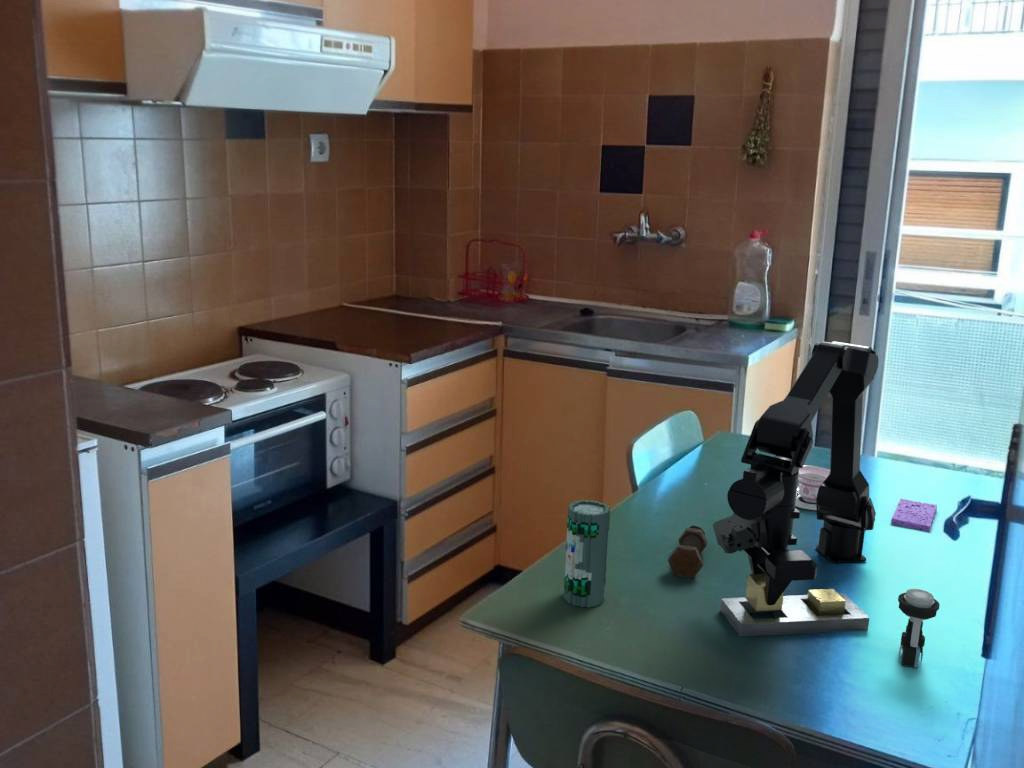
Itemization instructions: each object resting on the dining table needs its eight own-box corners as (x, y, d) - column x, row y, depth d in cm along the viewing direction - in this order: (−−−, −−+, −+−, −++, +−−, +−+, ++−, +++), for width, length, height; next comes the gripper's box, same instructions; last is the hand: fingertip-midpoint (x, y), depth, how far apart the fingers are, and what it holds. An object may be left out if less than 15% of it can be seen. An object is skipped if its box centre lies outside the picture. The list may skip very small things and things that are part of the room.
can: (557, 592, 155) (562, 502, 151) (592, 586, 157) (597, 498, 154) (575, 609, 150) (580, 517, 146) (610, 603, 152) (616, 512, 148)
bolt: (698, 553, 176) (687, 585, 162) (675, 536, 177) (662, 567, 163) (717, 529, 175) (708, 559, 161) (693, 512, 175) (682, 541, 161)
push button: (888, 642, 143) (897, 579, 141) (927, 649, 142) (937, 585, 139) (891, 665, 137) (900, 599, 135) (932, 672, 136) (942, 606, 133)
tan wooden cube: (830, 612, 152) (833, 588, 151) (842, 625, 148) (845, 600, 147) (805, 613, 151) (808, 589, 150) (817, 626, 148) (820, 601, 147)
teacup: (849, 499, 201) (852, 470, 199) (831, 516, 191) (835, 486, 190) (791, 486, 207) (794, 458, 206) (771, 502, 198) (774, 473, 196)
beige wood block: (770, 597, 150) (773, 573, 149) (781, 609, 146) (784, 585, 145) (745, 598, 149) (748, 574, 148) (756, 611, 145) (758, 586, 144)
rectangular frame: (842, 605, 154) (843, 593, 154) (867, 630, 147) (869, 617, 146) (720, 610, 151) (721, 598, 151) (740, 636, 144) (741, 623, 143)
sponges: (936, 513, 196) (937, 504, 196) (929, 534, 185) (930, 525, 185) (898, 506, 199) (900, 497, 199) (890, 526, 188) (891, 517, 188)
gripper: (700, 478, 151) (691, 572, 155) (747, 526, 133) (736, 631, 137) (768, 477, 153) (758, 570, 157) (824, 524, 135) (812, 627, 139)
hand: (764, 598), depth 147 cm, fingers closed on beige wood block, 4 cm apart
